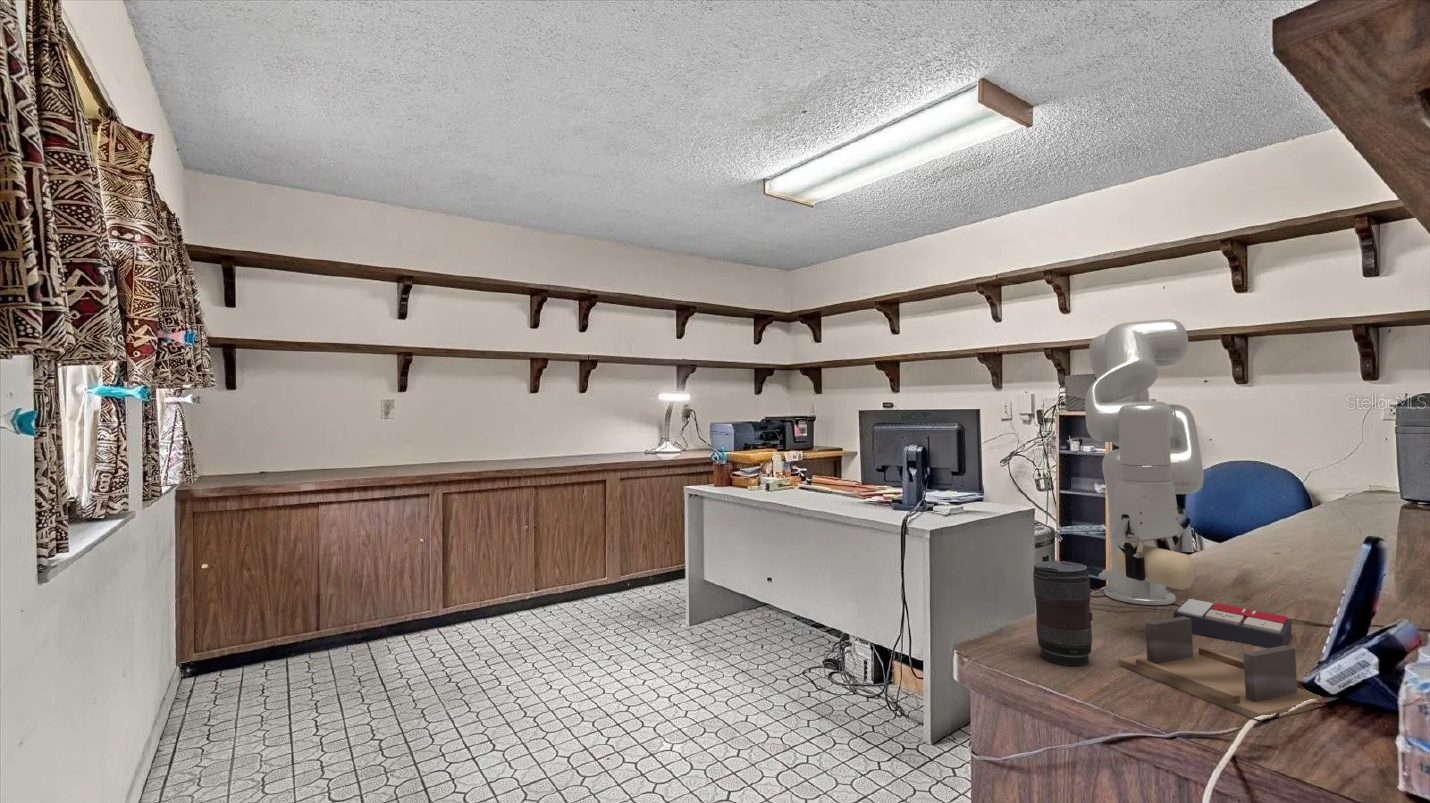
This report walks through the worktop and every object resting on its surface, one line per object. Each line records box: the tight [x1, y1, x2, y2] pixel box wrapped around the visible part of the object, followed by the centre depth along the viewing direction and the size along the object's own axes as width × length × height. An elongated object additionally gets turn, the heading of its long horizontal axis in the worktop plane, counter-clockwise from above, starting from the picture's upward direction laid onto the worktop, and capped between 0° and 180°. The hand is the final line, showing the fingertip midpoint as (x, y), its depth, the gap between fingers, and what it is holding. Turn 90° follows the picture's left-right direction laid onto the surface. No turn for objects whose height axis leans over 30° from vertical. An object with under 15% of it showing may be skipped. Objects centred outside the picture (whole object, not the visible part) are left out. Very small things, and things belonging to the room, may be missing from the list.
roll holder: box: [1118, 616, 1323, 719], centre depth 93 cm, size 20×14×7 cm
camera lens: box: [1032, 560, 1093, 666], centre depth 104 cm, size 8×8×15 cm
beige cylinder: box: [1115, 542, 1197, 591], centre depth 112 cm, size 10×6×6 cm
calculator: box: [1172, 598, 1292, 649], centre depth 114 cm, size 11×4×15 cm
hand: (1149, 575), depth 113 cm, fingers closed on beige cylinder, 6 cm apart
